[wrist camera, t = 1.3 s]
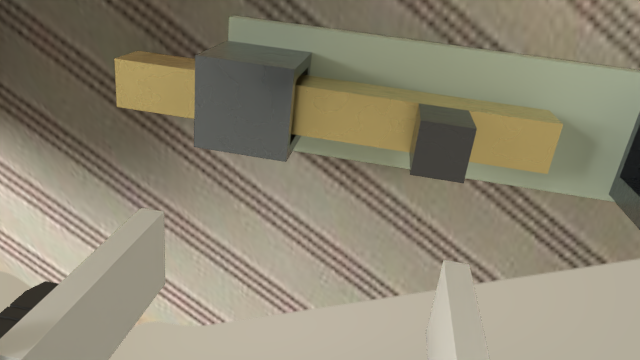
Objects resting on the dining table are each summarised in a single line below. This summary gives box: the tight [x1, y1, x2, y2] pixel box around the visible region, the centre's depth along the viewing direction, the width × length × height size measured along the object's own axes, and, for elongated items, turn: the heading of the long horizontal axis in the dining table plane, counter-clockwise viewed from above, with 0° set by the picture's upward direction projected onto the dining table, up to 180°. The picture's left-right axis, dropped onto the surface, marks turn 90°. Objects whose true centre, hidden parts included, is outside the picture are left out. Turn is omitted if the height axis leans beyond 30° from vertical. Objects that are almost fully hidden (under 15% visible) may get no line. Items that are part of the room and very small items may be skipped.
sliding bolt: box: [114, 51, 563, 183], centre depth 32 cm, size 28×3×7 cm, turn 83°
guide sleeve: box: [194, 41, 312, 162], centre depth 34 cm, size 6×6×6 cm
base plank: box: [228, 15, 640, 202], centre depth 36 cm, size 33×9×1 cm, turn 83°
